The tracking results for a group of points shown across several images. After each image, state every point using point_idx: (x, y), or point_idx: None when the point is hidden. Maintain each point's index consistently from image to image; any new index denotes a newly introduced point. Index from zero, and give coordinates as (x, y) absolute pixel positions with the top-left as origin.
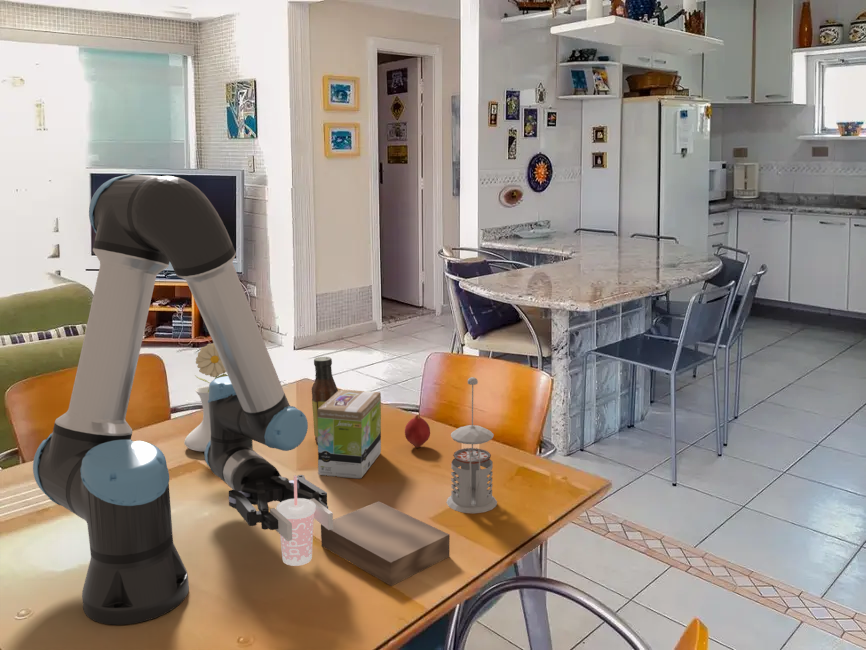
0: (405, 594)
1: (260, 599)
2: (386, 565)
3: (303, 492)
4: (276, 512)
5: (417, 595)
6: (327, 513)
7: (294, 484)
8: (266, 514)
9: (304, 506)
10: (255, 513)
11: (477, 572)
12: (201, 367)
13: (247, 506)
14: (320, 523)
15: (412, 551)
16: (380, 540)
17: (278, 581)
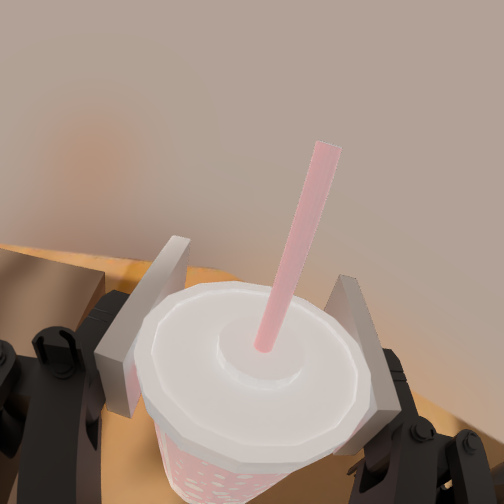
0: (116, 289)
1: (331, 454)
2: (101, 289)
3: (44, 480)
4: (377, 362)
5: (109, 278)
6: (189, 243)
7: (317, 214)
8: (406, 415)
9: (216, 329)
10: (449, 440)
11: (23, 247)
12: None
13: (486, 492)
14: None
15: (50, 261)
16: (27, 317)
17: (264, 493)
